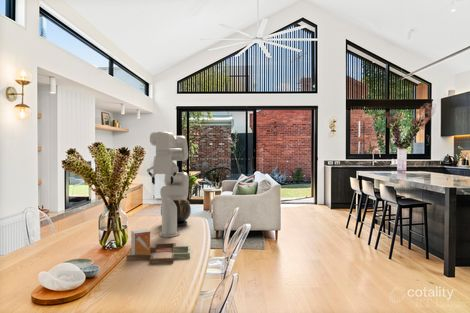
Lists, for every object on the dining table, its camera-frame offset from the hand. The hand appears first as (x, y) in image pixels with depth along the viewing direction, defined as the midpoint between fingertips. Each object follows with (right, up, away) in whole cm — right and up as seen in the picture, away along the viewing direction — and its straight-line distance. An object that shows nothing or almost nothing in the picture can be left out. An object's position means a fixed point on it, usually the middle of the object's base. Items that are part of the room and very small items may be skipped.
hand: (162, 184), depth 188 cm
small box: (-8, -36, -16) cm, 40 cm away
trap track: (+1, -36, -15) cm, 39 cm away
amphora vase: (-2, -34, +55) cm, 65 cm away
